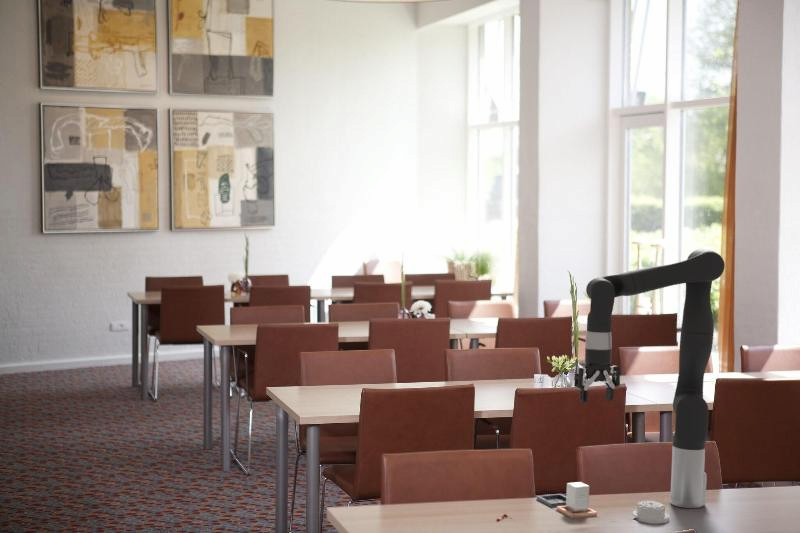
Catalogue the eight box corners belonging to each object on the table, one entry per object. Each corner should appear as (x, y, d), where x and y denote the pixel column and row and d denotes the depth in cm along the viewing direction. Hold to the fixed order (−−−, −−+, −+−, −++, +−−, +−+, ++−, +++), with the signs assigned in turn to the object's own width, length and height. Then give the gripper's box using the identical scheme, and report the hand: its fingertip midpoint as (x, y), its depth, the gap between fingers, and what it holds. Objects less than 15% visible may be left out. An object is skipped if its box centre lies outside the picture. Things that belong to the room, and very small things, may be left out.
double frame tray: (561, 500, 302) (561, 493, 302) (600, 519, 283) (600, 512, 283) (535, 502, 298) (535, 496, 298) (572, 523, 280) (572, 515, 280)
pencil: (496, 521, 280) (496, 518, 280) (522, 505, 297) (522, 502, 297) (499, 522, 280) (499, 519, 280) (525, 505, 296) (525, 502, 296)
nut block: (579, 509, 289) (580, 481, 289) (588, 514, 285) (589, 486, 285) (565, 511, 287) (566, 483, 287) (574, 515, 283) (575, 487, 283)
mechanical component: (632, 523, 282) (669, 526, 280) (633, 507, 282) (670, 510, 280) (632, 512, 292) (668, 515, 290) (632, 497, 292) (668, 500, 290)
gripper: (611, 344, 304) (609, 398, 305) (570, 345, 298) (568, 400, 299) (626, 347, 297) (624, 402, 298) (585, 349, 291) (583, 405, 292)
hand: (596, 401), depth 298 cm, fingers open, 8 cm apart
